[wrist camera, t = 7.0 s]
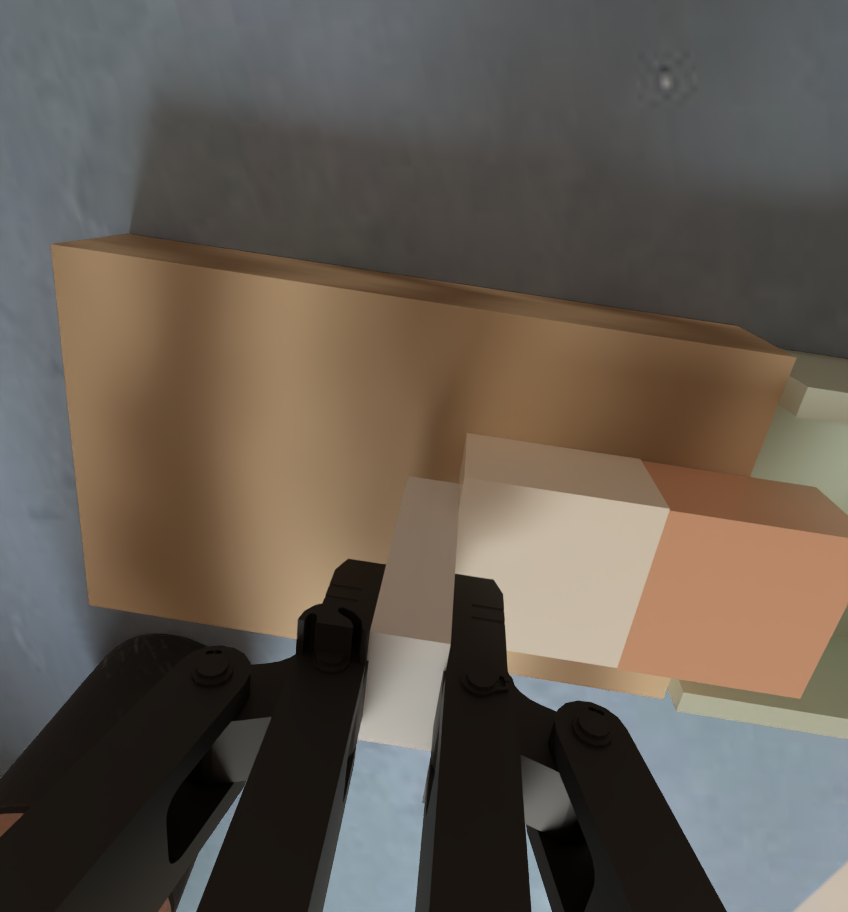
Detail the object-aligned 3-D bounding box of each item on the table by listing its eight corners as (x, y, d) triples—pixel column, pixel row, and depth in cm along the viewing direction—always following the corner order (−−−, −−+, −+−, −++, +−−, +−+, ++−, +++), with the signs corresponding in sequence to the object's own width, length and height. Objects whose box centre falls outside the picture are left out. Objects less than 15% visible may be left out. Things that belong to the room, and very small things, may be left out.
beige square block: (442, 576, 20) (436, 639, 17) (466, 432, 18) (464, 477, 15) (597, 600, 20) (617, 668, 17) (640, 458, 18) (669, 508, 15)
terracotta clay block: (597, 602, 20) (617, 669, 17) (640, 460, 18) (669, 510, 15) (755, 627, 20) (800, 698, 17) (816, 487, 17) (878, 542, 15)
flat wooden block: (145, 544, 25) (88, 605, 21) (128, 234, 20) (50, 244, 17) (635, 623, 25) (663, 699, 21) (737, 326, 20) (796, 357, 16)
